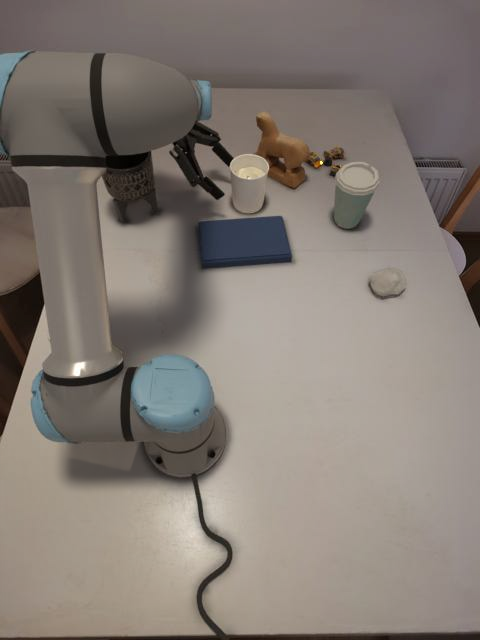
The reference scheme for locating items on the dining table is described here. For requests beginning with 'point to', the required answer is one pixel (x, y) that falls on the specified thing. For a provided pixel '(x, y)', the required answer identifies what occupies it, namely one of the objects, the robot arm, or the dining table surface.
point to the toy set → (327, 159)
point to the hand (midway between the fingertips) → (226, 180)
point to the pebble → (388, 281)
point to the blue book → (243, 242)
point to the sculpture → (281, 152)
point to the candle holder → (248, 182)
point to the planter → (130, 181)
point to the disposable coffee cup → (353, 192)
